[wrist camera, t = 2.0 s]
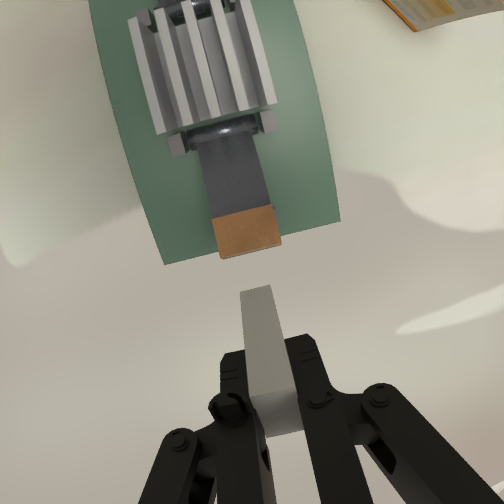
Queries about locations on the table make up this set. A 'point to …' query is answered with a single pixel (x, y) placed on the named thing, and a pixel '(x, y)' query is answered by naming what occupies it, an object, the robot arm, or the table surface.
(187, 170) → the board
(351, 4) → the table surface
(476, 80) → the table surface
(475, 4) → the supplement box
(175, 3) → the block
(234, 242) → the strap
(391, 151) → the table surface
